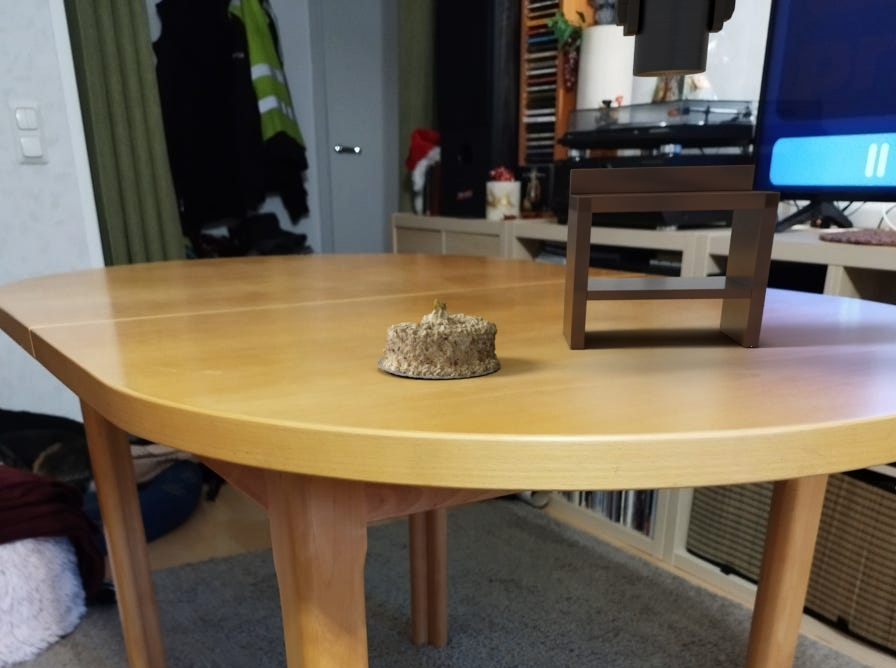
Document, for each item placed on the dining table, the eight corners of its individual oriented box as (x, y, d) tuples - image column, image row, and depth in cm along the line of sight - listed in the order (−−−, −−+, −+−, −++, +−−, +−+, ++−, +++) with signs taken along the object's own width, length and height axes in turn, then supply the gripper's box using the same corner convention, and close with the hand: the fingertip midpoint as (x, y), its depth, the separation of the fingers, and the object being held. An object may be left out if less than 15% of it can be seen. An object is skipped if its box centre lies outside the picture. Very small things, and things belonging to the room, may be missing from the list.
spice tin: (698, 75, 64) (710, -48, 61) (714, 68, 60) (728, -65, 57) (626, 78, 65) (633, -44, 62) (637, 71, 60) (645, -61, 57)
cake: (515, 366, 77) (522, 298, 74) (476, 392, 68) (483, 316, 66) (405, 350, 80) (408, 284, 77) (355, 373, 71) (357, 301, 69)
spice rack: (731, 330, 88) (752, 165, 82) (758, 347, 79) (784, 164, 73) (562, 331, 89) (570, 169, 83) (570, 349, 80) (579, 168, 74)
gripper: (582, -338, 51) (568, 30, 58) (850, -357, 50) (800, 20, 57) (570, -279, 57) (559, 45, 65) (806, -294, 56) (766, 36, 64)
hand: (672, 31), depth 61 cm, fingers closed on spice tin, 5 cm apart
